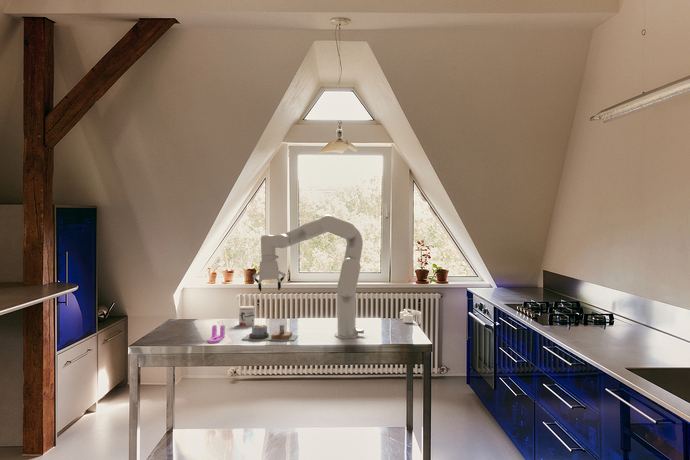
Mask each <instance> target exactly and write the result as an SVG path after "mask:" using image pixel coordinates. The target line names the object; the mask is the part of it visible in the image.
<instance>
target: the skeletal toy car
mask: <svg viewBox="0 0 690 460" xmlns="http://www.w3.org/2000/svg"><path fill="white" fill-rule="evenodd" d="M422 315H423V314H422V311H420V310H416V309H410V308H404V309H403V310H402V311H399V320H402V321H403V323H404V324H412V323H413V321H414V322H415V321H416V317H415V316H418V317H417V318H418V319H417V320H418V321H417V322H418V325H421V324H422Z"/></svg>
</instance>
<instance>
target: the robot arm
mask: <svg viewBox="0 0 690 460" xmlns="http://www.w3.org/2000/svg"><path fill="white" fill-rule="evenodd" d="M326 233H330V234H332V235H335V236H337V237H340V238H342V239H345V241H346V248H345V252H344V257H343V261H342V263H341V268H340V274H339V278H338V281H337V332H336V333H334V337H335V338H337V339H344V340H345V339H347V340H348V339H356V338H359V334H365V330H364V329H361V328H360V329H358V328H357V326H356V306H357V305H356V300H357V299H356V290H357V286H358V281H359V277H360V271H361V257H362V251H363V246H364V245H363V244H364V243H363V236H362V233H361V232H360V231H359V230H358V228H357V227H356V226H355V225H354V224H353V223H351V222H348V221H346V220H343V219H341V218H338V217H335V216H333V215H330V214H325V215H323V216H320V217H318V218H316V219H313V220H311V221H308V222H305V223H303V224H302V225H300V226H299V227H297V228H295V229H292V230H290V231H288V232H285V233H278V234H275V235H273V234H264V235H261V237H260V252H261V254H260V255H261V260H260V261H259V267H258V268H259V269H258V272H257V273H254V274H253V275H252V278H253V280H254V282H255V283H257V285H258V288H257V289H258V290H259V292H262V282H263V281H266V280H267V281H269V280H276V281H277V290H278V291H281V289H282V287H281V286H282V281H283V280H284V279H285V277H286V273H285V272H282V271H280V270H279V262H278V260H277V259H279V255H277V253H276V251H277V250H276V248H277V249H285V248H289V247H291V246H293V245H296V244H298V243H301V242H305V241H308V240H312V238H317V237H318V236H321V235H323V234H326ZM280 275H281V278H280ZM258 276H259V279H258V278H257V277H258Z"/></svg>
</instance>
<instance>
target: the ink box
mask: <svg viewBox="0 0 690 460" xmlns="http://www.w3.org/2000/svg"><path fill="white" fill-rule="evenodd" d="M238 307H239V309H238V310H239V313H238V318H239V319H238V322H239V323H238V326H239V327H250V326H251V327H252V326H255V306H254V305H240V306H238Z"/></svg>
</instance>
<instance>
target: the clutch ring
mask: <svg viewBox="0 0 690 460" xmlns="http://www.w3.org/2000/svg"><path fill="white" fill-rule="evenodd" d="M257 325H258V324H256V325H255V324H254V326H251V333H252V335H256V336H261V335H266V334H267V333H268V326H267V325H266V324H265V325H264V324H261V325H262V327H257Z"/></svg>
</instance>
